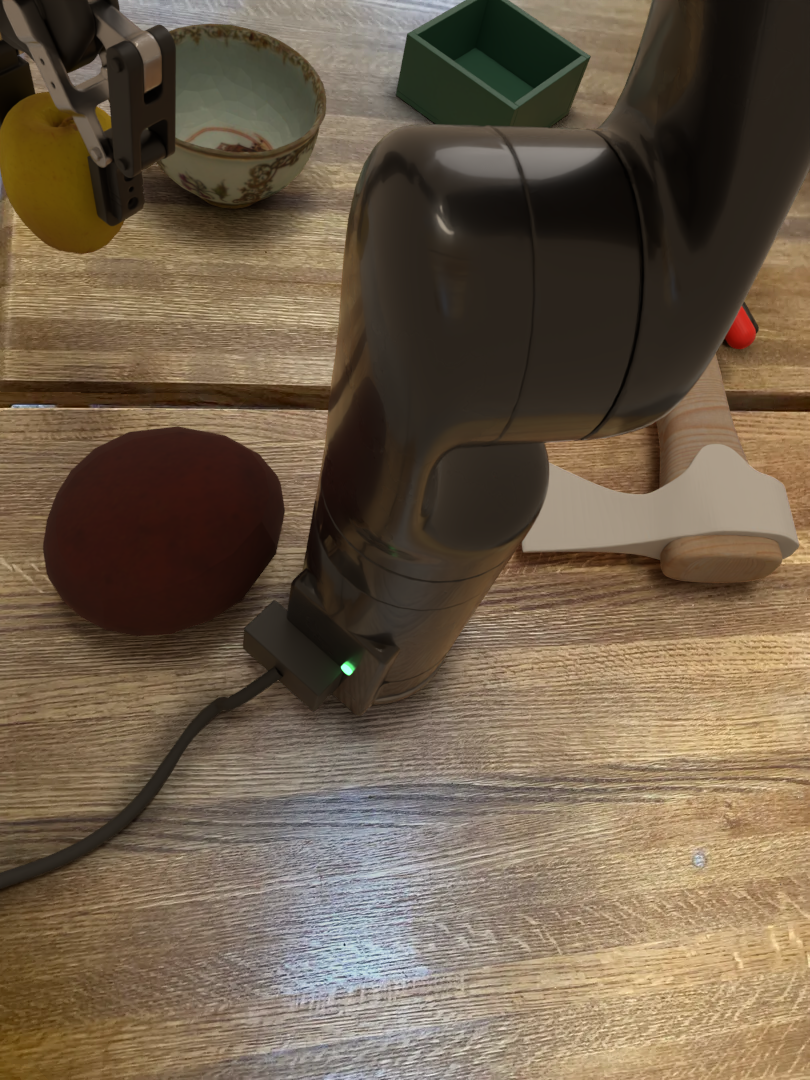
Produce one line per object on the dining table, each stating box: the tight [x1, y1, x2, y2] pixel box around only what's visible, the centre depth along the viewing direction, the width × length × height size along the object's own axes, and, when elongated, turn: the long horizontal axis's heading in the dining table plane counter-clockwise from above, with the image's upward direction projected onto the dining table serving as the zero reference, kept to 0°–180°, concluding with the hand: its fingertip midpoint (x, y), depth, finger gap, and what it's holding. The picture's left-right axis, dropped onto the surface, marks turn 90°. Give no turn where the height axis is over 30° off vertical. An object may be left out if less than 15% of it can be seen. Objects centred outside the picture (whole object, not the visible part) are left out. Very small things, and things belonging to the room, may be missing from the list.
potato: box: [42, 425, 286, 637], centre depth 46 cm, size 11×13×10 cm
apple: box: [0, 91, 126, 255], centre depth 42 cm, size 6×6×8 cm
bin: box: [395, 0, 591, 127], centre depth 73 cm, size 11×11×6 cm
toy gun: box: [724, 301, 760, 350], centre depth 63 cm, size 10×12×5 cm
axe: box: [521, 353, 800, 584], centre depth 61 cm, size 18×5×30 cm
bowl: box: [146, 23, 327, 210], centre depth 62 cm, size 14×13×8 cm
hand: (70, 175), depth 43 cm, fingers closed on apple, 6 cm apart
